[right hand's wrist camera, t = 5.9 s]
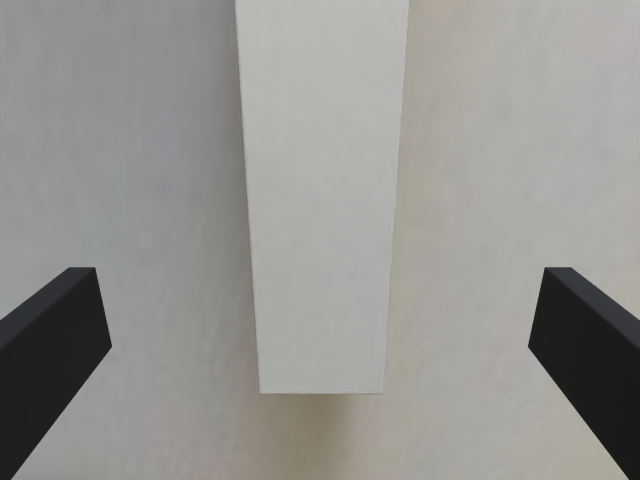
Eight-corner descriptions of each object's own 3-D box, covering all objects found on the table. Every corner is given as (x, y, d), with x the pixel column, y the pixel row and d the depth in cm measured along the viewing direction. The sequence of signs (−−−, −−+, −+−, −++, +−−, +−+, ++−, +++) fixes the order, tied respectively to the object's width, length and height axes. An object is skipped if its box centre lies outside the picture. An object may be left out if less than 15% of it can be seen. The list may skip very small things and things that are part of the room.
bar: (362, 291, 23) (383, 395, 15) (279, 291, 23) (258, 395, 15) (386, -278, 15) (452, -637, 7) (257, -278, 15) (192, -636, 7)
